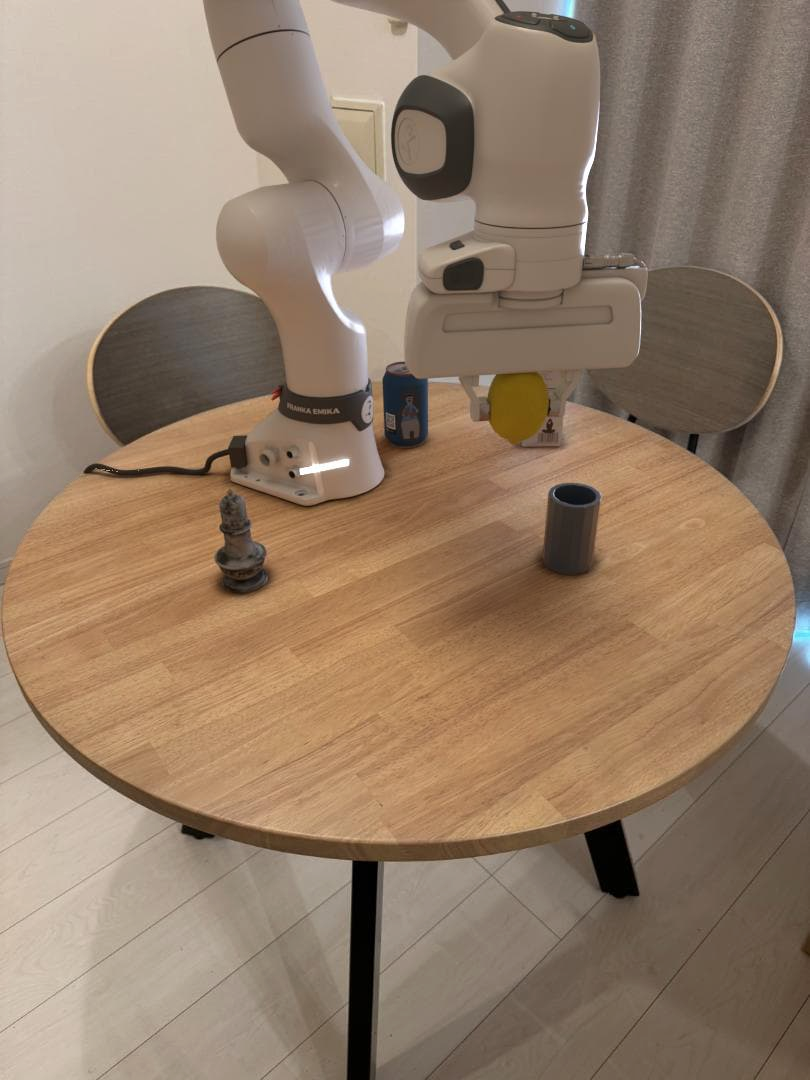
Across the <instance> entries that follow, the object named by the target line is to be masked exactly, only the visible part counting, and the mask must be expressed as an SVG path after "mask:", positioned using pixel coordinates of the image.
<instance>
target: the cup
mask: <svg viewBox="0 0 810 1080" xmlns="http://www.w3.org/2000/svg"><path fill="white" fill-rule="evenodd" d="M602 498H603V496H602V494H601V491H599V490H598V489H597V488H595V487H593V486H591V485H589V484H586V483H580V482H563V483H557V484H555V485H554V486H552V487H550V489H549V490H548V493H547V502H546V503H547V504H546V512H545V513H546V515H545V526H544V535H543V536H544V537H543V546H542V562H543V565H544V566H545V567H546V568H547V569H548V570H550V571H552V572H554V573H556V574H561V575H566V576H576V575H581V574H584V573H586V572H588V571H589V570H590V569H591V568H592V566H593V562H594V558H595V549H596V544H597V543H596V542H597V536H598V529H599V521H600V513H601V506H602V501H603V500H602Z"/></svg>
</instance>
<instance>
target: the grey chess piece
mask: <svg viewBox="0 0 810 1080" xmlns="http://www.w3.org/2000/svg"><path fill="white" fill-rule="evenodd" d="M226 493H227V494H226V495H224V496H223V497H222V498H220V500H219V504H218V508H219V512H220V519H221V523H220V524H219V527H218V528H219V531H220V532H221V533H222V534H223V539H224V545H223V546H221V547H220V548H219V549H218V550H217V551H216V552H215V554H214V557H213V558H214V562H215V564H216V565H217V566H218V568H219V569H220V571H221V572H222V573H223V575H224V576H223V577H222V579H221V585H222V588H223V589H224V590H226V591H227V592H230V593H233V594H247V593H252V592H254V591H257V590H259V589H261V588H262V587H264V585H265V584H267V582H268V578H269V575H268V573H267V571H266V570H265V569H263V567H264V564H265V560H266V557H267V553H268V552H267V551H268V550H267V548H266V546H265V545H264V544H262V543H260V542H259V541H255V540H253V538H252V531H251V529H252V527H253V521H252V520H251V519H249V518H248V517H249V516H248V511H247V505H246V501H245V498H244V497H243V496H242V495H240V494H237V493H236V494H235V493H234V490H233V489H231V488H229V489H228V490H227V491H226Z"/></svg>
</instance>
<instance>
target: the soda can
mask: <svg viewBox="0 0 810 1080" xmlns="http://www.w3.org/2000/svg"><path fill="white" fill-rule="evenodd" d="M382 400H383V401H382V402H383V403H382V405H383V406H382V407H383V408H382V409H383V428H384V429H383V431H384V433H383V434H384V436H385V439H386V440H387V441H388V443H389V444H390V445H391V446H392V447H395V448H398V449H399V448H400V449H411V448H412V449H413V448H417V447H419V446H421V445H422V444H424V442H425V441H426V439H427V437H428V435H429V378H426V379H418V378H416V377H415V376H414V375H413V374H412V373H411V372H410V371H409V370H408V369H407V366H406V364H405V361H396V362H392V363H389V364H388V365H386V367H385V372H384V374H383V377H382Z"/></svg>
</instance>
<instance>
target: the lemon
mask: <svg viewBox="0 0 810 1080" xmlns="http://www.w3.org/2000/svg"><path fill="white" fill-rule="evenodd" d="M486 397H487V399H488V400H487V401H489V402H490V412H489V415H490V419H489V421H488V422H489V424H490V427H491V429H492V430H493V431H494V433H496V435H497V436H499V437H500V438H502V439H504V440H507V441H508V442H509V443H510V444H511V445H513V446H517V445H519V444H521V441H522V440H526V439H529V438H531V437H533V436H534V435H535V434H536V433H537V432H538V431H539V430H540V429H541V428H542V426H543V424H544V422H545V420H546V417H547V413H548V407H549V394H548V388H547V384H546V381H545V379H544V377H543V375H542V374H541V373H540V372H530V373H513V374H495V376H494V377H493V379H492V380H491V383H490V384H489V388H488V392H487V396H486Z"/></svg>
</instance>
